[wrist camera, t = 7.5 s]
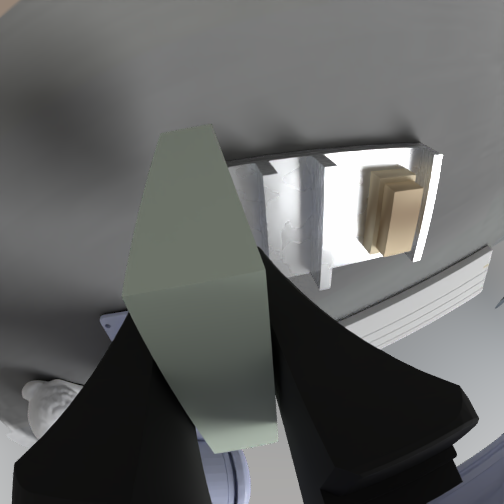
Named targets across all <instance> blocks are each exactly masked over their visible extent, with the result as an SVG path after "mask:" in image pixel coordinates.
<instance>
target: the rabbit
mask: <svg viewBox="0 0 504 504" xmlns="http://www.w3.org/2000/svg"><path fill="white" fill-rule="evenodd" d="M82 388H83V386H81V385H77V384H74V383H70V382H67V381H64V380H60V379H55V380H52V381H49V382H48V381H42V380H34V381H30V382H27V383H26V384H25V386H24V387H23V389H22V396H23V398H24V399H26V400H28V401H29V407H28V421H29V424H30V427H31V429H32V431H33V433H34V435H35V436H36V437H37V438H38V440H39V439H40V438H41V437H42V436H43V435H44V434H45V433H46V432H47V431H48V429H49V428H50V427H51V426H52V425H53V424H54V423H55V422H56V421H57V419H58V418H59V417H60V416H61V415H62V413H63V412H64V411H65V410H66V409H67V407H68V406H69V405H70V404H71V402H72V401H73V400H74V398H75V397H76V396H77V394H78V393H79V392H80V390H81V389H82Z"/></svg>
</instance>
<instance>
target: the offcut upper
mask: <svg viewBox="0 0 504 504" xmlns="http://www.w3.org/2000/svg"><path fill="white" fill-rule="evenodd" d="M423 189H424V188H423V187H421V186H420V185H419V184H417V183H416V182H415V181H404V182H395V183H387V184H385V186H384V194H383V202H382V210H381V217H380V224H379V231H378V237H377V243H376V248H377V250H378V251H379V252H380V253H381V254H382V256H383V257H387V256H391V255H395V254H400V253H404V252H408V251H411V247H412V243H413V239H414V235H415V230H416V225H417V221H418V216H419V211H420V206H421V200H422V195H423Z"/></svg>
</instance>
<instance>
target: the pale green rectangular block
mask: <svg viewBox="0 0 504 504" xmlns="http://www.w3.org/2000/svg"><path fill="white" fill-rule="evenodd" d="M122 299H123V301H124V303H125V305H126V307H127V309H128V311H129V313H130V315H131V317H132V319H133V321H134V323H135V325H136V327H137V329H138V331H139V333H140V334H141V336H142V338H143V340H144V342H145V344H146V346H147V348H148V349H149V351H150V353H151V355H152V357H153V358H154V360H155V362H156V364H157V365H158V367H159V369H160V371H161V372H162V374H163V376H164V377H165V379H166V381H167V382H168V384H169V386H170V387H171V389H172V391H173V392H174V394H175V396H176V397H177V399H178V400H179V402H180V404H181V405H182V407H183V408H184V410H185V411H186V413H187V414H188V416H189V417H190V419H191V421H192V422H193V424H194V425H195V426H196V428H197V429H198V431H199V432H200V434H201V435H202V437H203V438H204V440H205V441H206V442H207V444H208V445H209V447H210V448H211V449H212V451H213V452H214V454H217V453H223V452H230V451H235V450H241V449H247V448H252V447H256V446H262V445H266V444H271V443H275V442H278V429H277V415H276V400H275V386H274V372H273V358H272V345H271V332H270V319H269V306H268V294H267V281H266V270H265V267H264V264H263V261H262V259H261V256H260V253H259V250H258V248H257V245H256V242H255V240H254V237H253V234H252V231H251V229H250V226H249V223H248V221H247V218H246V215H245V213H244V210H243V207H242V204H241V202H240V199H239V196H238V194H237V191H236V188H235V186H234V183H233V180H232V178H231V175H230V172H229V169H228V167H227V164H226V161H225V159H224V156H223V153H222V151H221V148H220V145H219V143H218V140H217V137H216V135H215V132H214V129H213V127H212V124H208V125H202V126H196V127H191V128H185V129H180V130H175V131H170V132H166V133H161V134H160V137H159V140H158V143H157V146H156V150H155V153H154V156H153V160H152V163H151V167H150V170H149V174H148V178H147V181H146V185H145V189H144V193H143V196H142V200H141V204H140V209H139V213H138V217H137V221H136V225H135V230H134V234H133V239H132V244H131V248H130V253H129V258H128V263H127V269H126V274H125V280H124V285H123V291H122Z"/></svg>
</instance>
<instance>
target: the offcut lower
mask: <svg viewBox="0 0 504 504" xmlns="http://www.w3.org/2000/svg"><path fill="white" fill-rule="evenodd" d="M415 180H416V174H414V173H413V172H411V171H410V170H408V169H407V168H400V169H390V170H379V171H371V175H370V186H369V197H368V207H367V216H366V224H365V232H364V240H363V247H364V248H365V249H366V251H367V252H368V253H369V255H373V254H377V253H380V252H379V251H378V250H377V248H376V243H377V237H378V231H379V224H380V217H381V210H382V202H383V194H384V186H385V184H387V183H395V182H404V181H415Z"/></svg>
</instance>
